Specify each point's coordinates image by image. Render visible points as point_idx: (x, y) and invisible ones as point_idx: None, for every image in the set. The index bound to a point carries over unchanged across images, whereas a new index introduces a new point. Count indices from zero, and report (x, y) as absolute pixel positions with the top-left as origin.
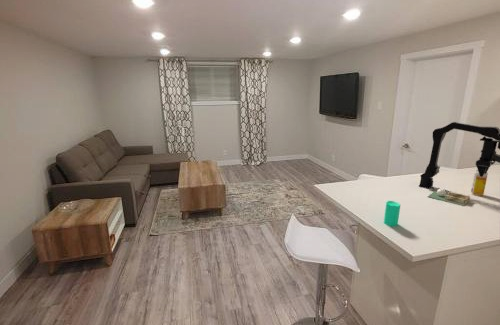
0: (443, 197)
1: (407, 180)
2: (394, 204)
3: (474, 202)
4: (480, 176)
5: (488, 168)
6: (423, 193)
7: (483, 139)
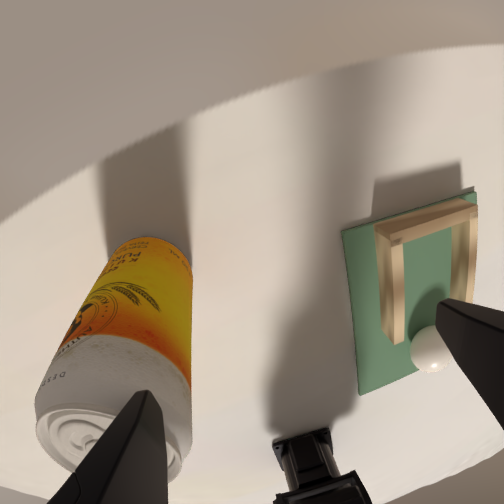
0: (434, 315)
1: None
2: None
3: (373, 186)
4: (442, 319)
5: (111, 476)
6: (424, 383)
7: None
